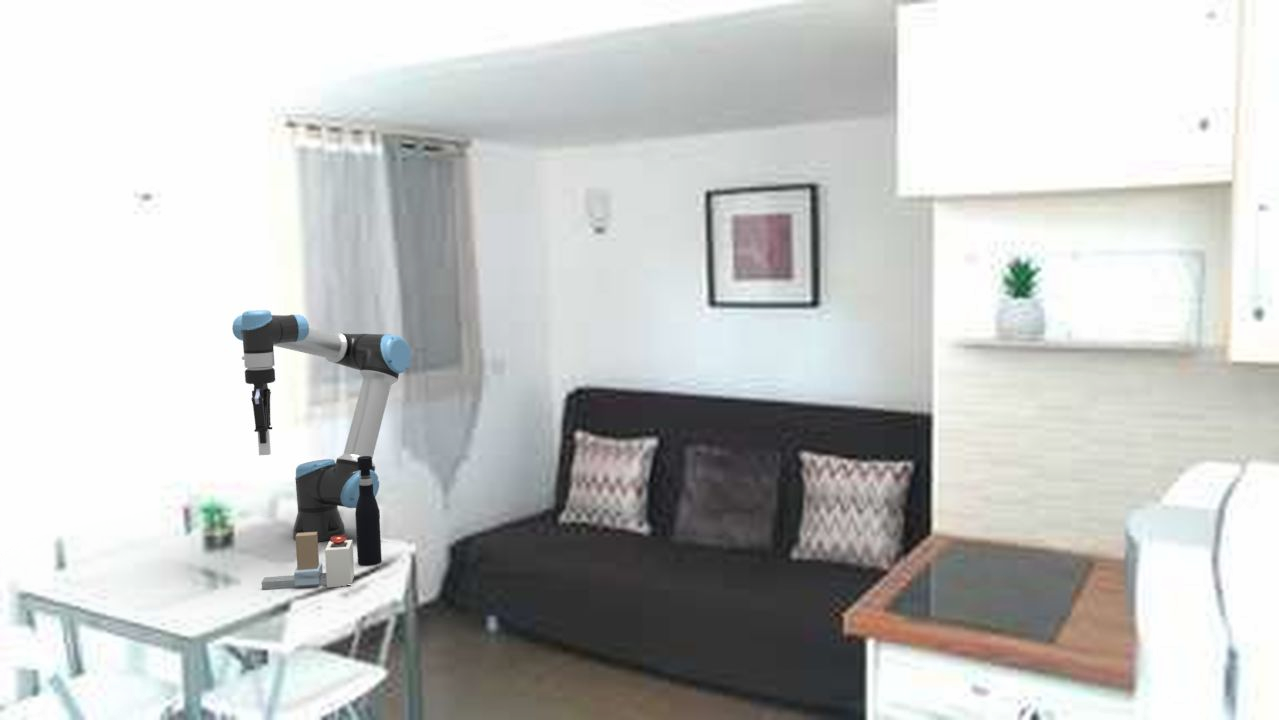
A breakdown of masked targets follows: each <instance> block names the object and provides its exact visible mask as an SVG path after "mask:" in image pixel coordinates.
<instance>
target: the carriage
mask: <svg viewBox="0 0 1279 720" xmlns="http://www.w3.org/2000/svg"><path fill="white" fill-rule="evenodd" d="M295 537H296V540H295V550H296V568H295V570H294V572H293V575H294V579H295V586H296V585H310V584H319V583H320V582H319V576H320V574H321V573H324V571H323V562H320V557H319V554H320V553H319V544H318V543H319V542H318V536H317V532H306V533H297V535H296V536H295Z"/></svg>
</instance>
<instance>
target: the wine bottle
mask: <svg viewBox="0 0 1279 720" xmlns="http://www.w3.org/2000/svg"><path fill="white" fill-rule="evenodd" d="M357 460H358V470H361V477H362V478H360V485H359V498H358V501H357V505H356V508H355V513H354V514H355V530H356V531H355V532H356V533H355V534H356V550H357V551H356V553H357V564H358V565H359V566H361V567H371V566H376V565H379V564H381V563H382V561H383V560H382V541H381V539H382V538H381V522H380V521H381V520H380V508H379V505H378V502H377V499H376V497H375V496H374V494H373V484H372V481H371V480H372V479H371V477H369V476H370V469H372V461H373V458H372V457H371V456H361V457H358V458H357Z"/></svg>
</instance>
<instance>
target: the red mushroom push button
mask: <svg viewBox="0 0 1279 720" xmlns="http://www.w3.org/2000/svg"><path fill="white" fill-rule="evenodd" d="M346 540H348V539H347V535H346V534H343V535H334V536H332V537H331V540H330V541H331V542H333V547H345V544H344V541H346Z"/></svg>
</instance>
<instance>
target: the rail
mask: <svg viewBox="0 0 1279 720" xmlns="http://www.w3.org/2000/svg"><path fill="white" fill-rule="evenodd" d="M319 582H320V583H319V584H310V585H296V586H295V579H294V574H292V575H281V576H279V575H278V576H265V577H263V579H262V581H261V590H266V589H267V590H280V589H291V588H305V587H306V588H307V587H308V588H309V587H319V586H320V587H321V586H327V578H326V572H323V573H321V574H320V576H319Z"/></svg>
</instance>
